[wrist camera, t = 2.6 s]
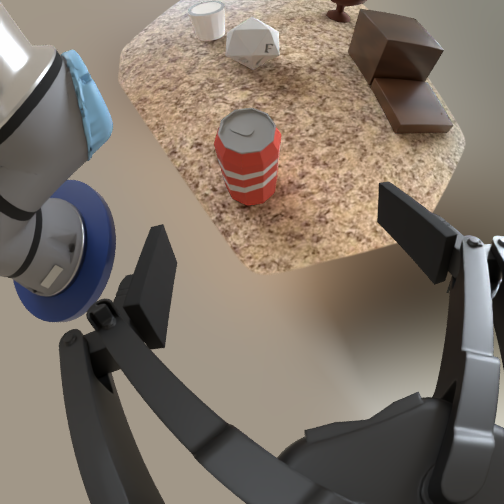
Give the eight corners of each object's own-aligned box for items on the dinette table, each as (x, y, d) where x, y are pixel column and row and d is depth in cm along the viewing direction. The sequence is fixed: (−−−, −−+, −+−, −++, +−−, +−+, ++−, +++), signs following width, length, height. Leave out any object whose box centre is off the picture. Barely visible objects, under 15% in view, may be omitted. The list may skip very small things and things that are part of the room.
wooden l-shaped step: (347, 52, 40) (359, 8, 29) (398, 55, 40) (415, 18, 30) (394, 133, 36) (424, 89, 25) (446, 133, 36) (478, 97, 26)
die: (223, 77, 40) (253, 52, 31) (210, 36, 37) (237, 6, 29) (264, 74, 43) (299, 53, 35) (251, 35, 41) (282, 10, 32)
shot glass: (197, 46, 41) (190, 19, 34) (190, 31, 43) (184, 6, 36) (232, 37, 42) (229, 9, 35) (223, 22, 43) (219, -3, 36)
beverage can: (240, 156, 36) (232, 96, 24) (284, 175, 35) (293, 118, 23) (217, 193, 35) (198, 141, 23) (263, 215, 34) (263, 168, 22)
